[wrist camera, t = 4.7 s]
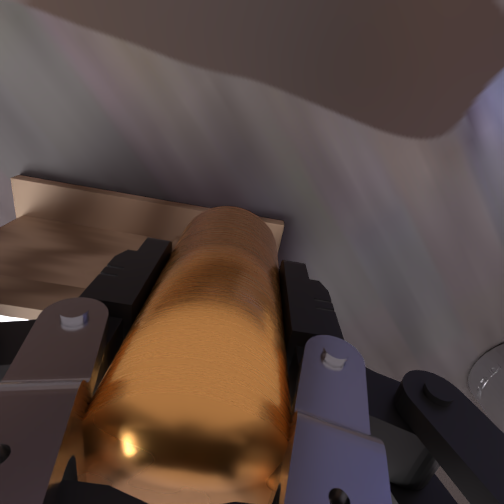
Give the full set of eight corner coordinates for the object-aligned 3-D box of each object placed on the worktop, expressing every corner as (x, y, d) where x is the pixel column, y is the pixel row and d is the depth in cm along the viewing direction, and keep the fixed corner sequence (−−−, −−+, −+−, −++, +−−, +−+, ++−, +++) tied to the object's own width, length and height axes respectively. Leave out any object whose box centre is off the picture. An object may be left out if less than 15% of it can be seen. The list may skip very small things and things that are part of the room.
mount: (283, 220, 28) (297, 303, 17) (257, 332, 33) (256, 447, 23) (18, 175, 27) (-140, 233, 16) (35, 298, 32) (-76, 403, 21)
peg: (286, 215, 12) (324, 415, 5) (266, 299, 13) (272, 546, 6) (184, 197, 12) (57, 377, 4) (176, 285, 13) (73, 522, 6)
